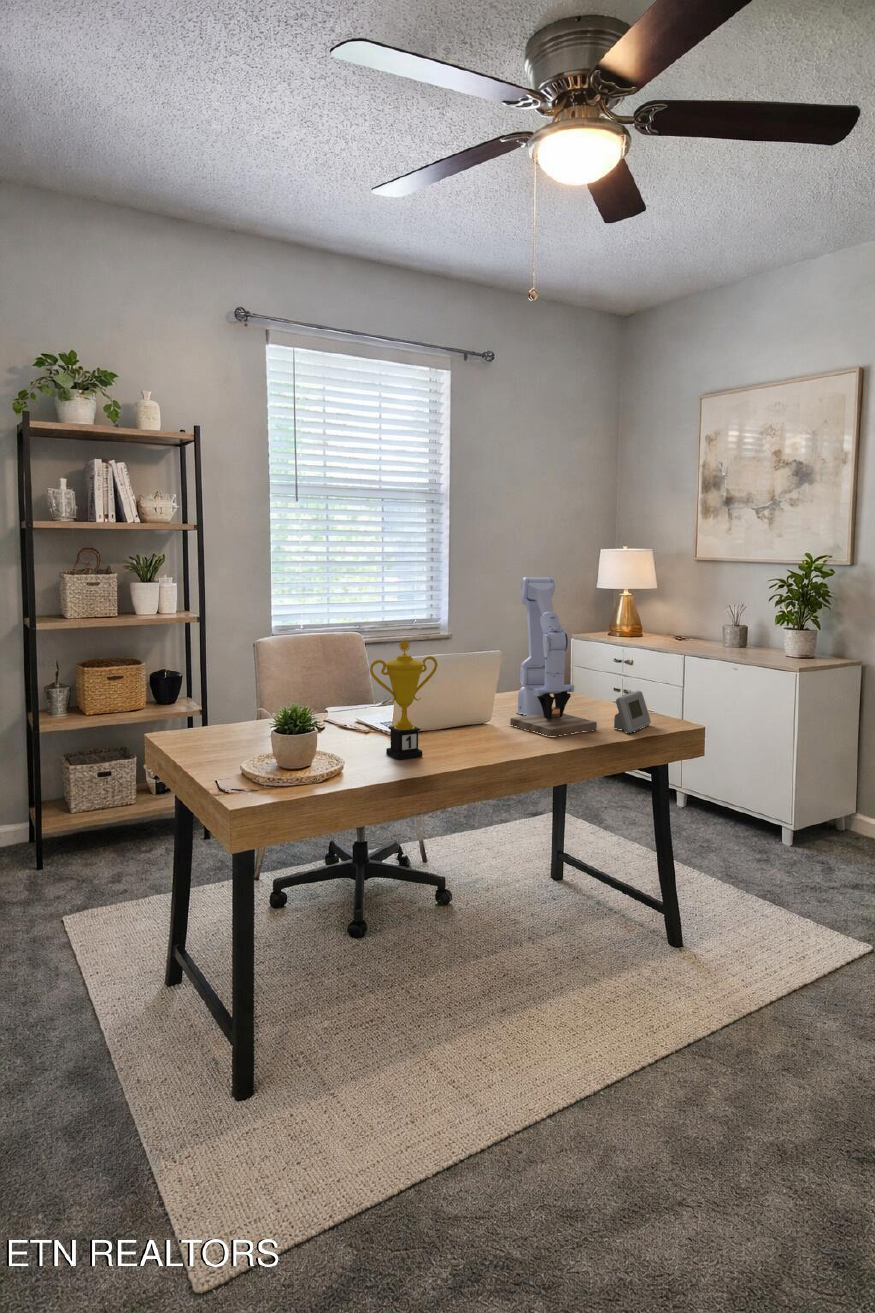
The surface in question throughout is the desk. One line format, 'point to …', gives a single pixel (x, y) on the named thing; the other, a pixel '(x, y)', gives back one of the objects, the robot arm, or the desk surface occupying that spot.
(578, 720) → the block
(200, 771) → the desk surface
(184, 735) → the desk surface
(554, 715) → the plunger
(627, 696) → the digital clock
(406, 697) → the trophy
